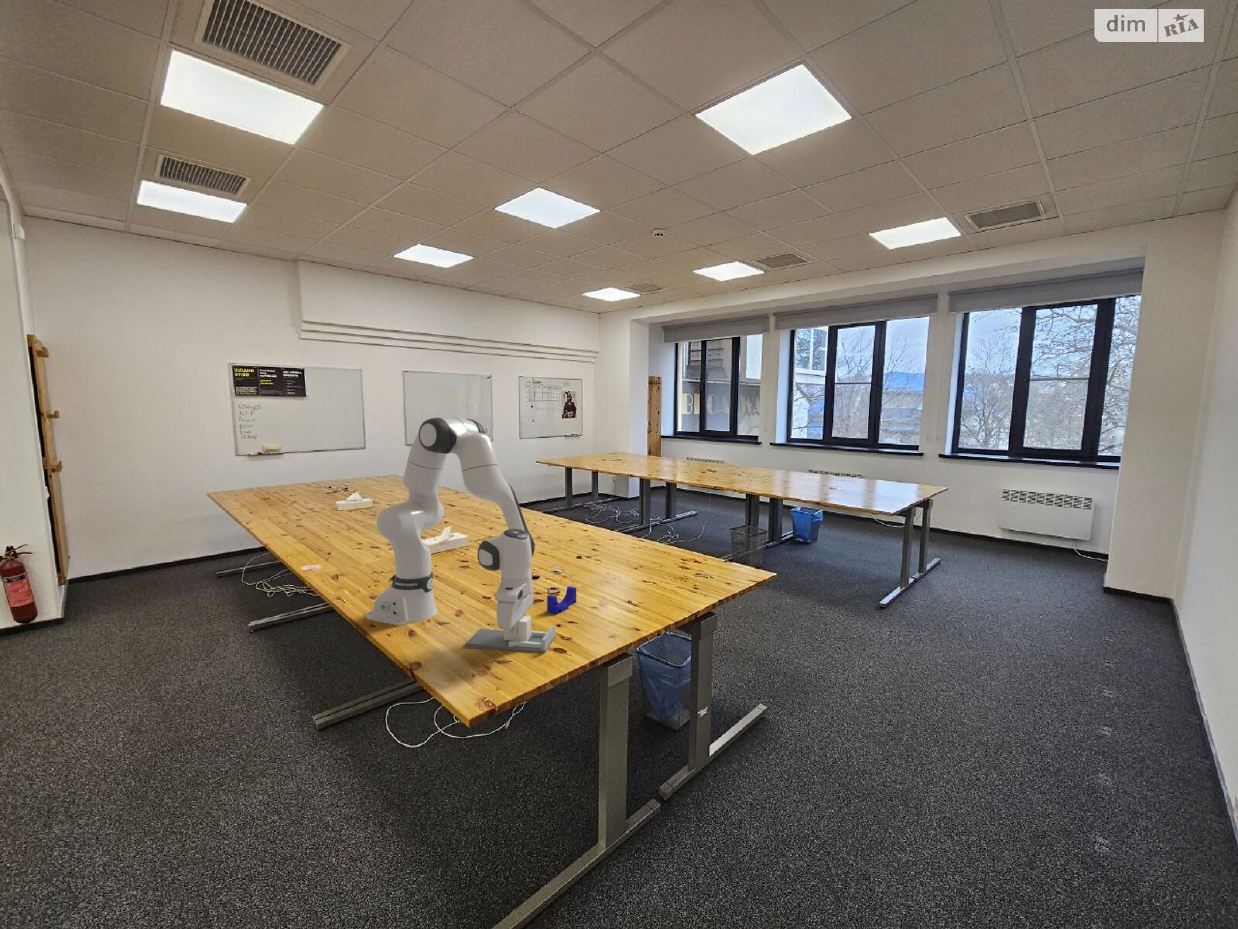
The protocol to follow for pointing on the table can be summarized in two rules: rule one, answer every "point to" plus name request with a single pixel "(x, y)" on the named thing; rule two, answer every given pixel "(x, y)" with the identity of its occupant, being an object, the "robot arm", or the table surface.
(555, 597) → the cable clip
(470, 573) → the table surface
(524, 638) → the panel block
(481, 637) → the mounting plate
